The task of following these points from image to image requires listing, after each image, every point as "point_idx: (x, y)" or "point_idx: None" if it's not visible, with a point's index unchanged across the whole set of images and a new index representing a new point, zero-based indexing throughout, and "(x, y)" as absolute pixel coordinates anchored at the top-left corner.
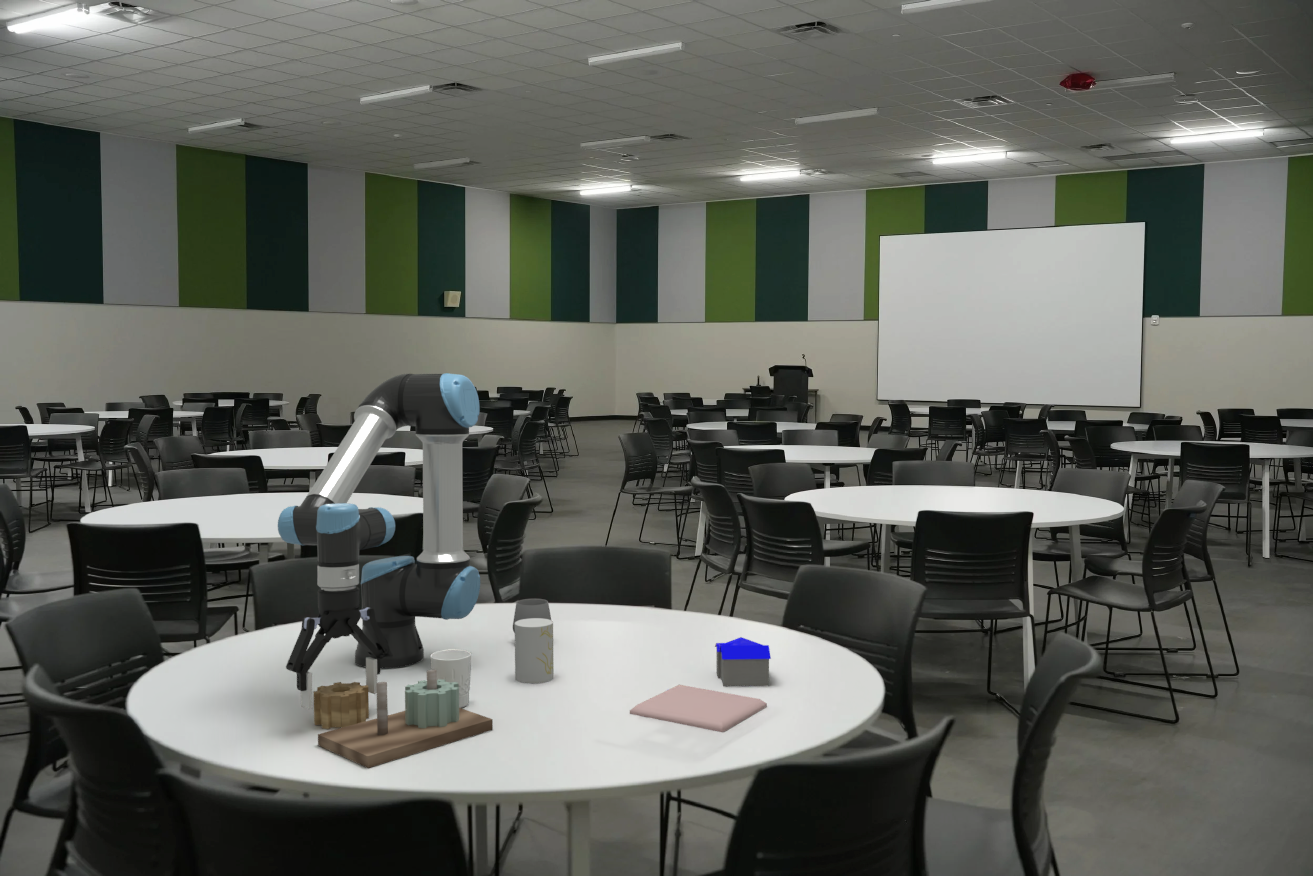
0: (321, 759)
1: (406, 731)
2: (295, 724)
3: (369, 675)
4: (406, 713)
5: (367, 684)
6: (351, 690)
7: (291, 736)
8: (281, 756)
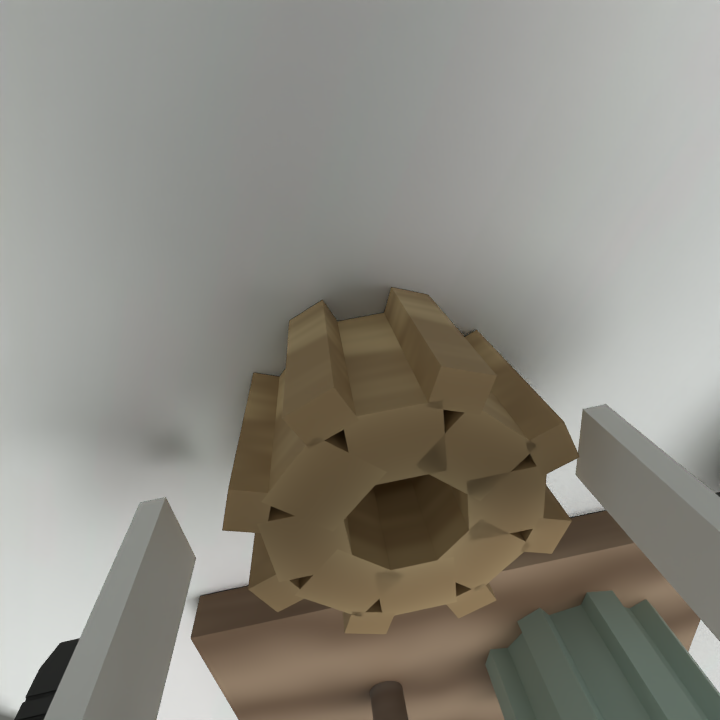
0: (183, 678)
1: (449, 697)
2: (161, 336)
3: (656, 519)
4: (503, 698)
5: (610, 450)
6: (445, 568)
7: (118, 478)
8: (59, 627)
